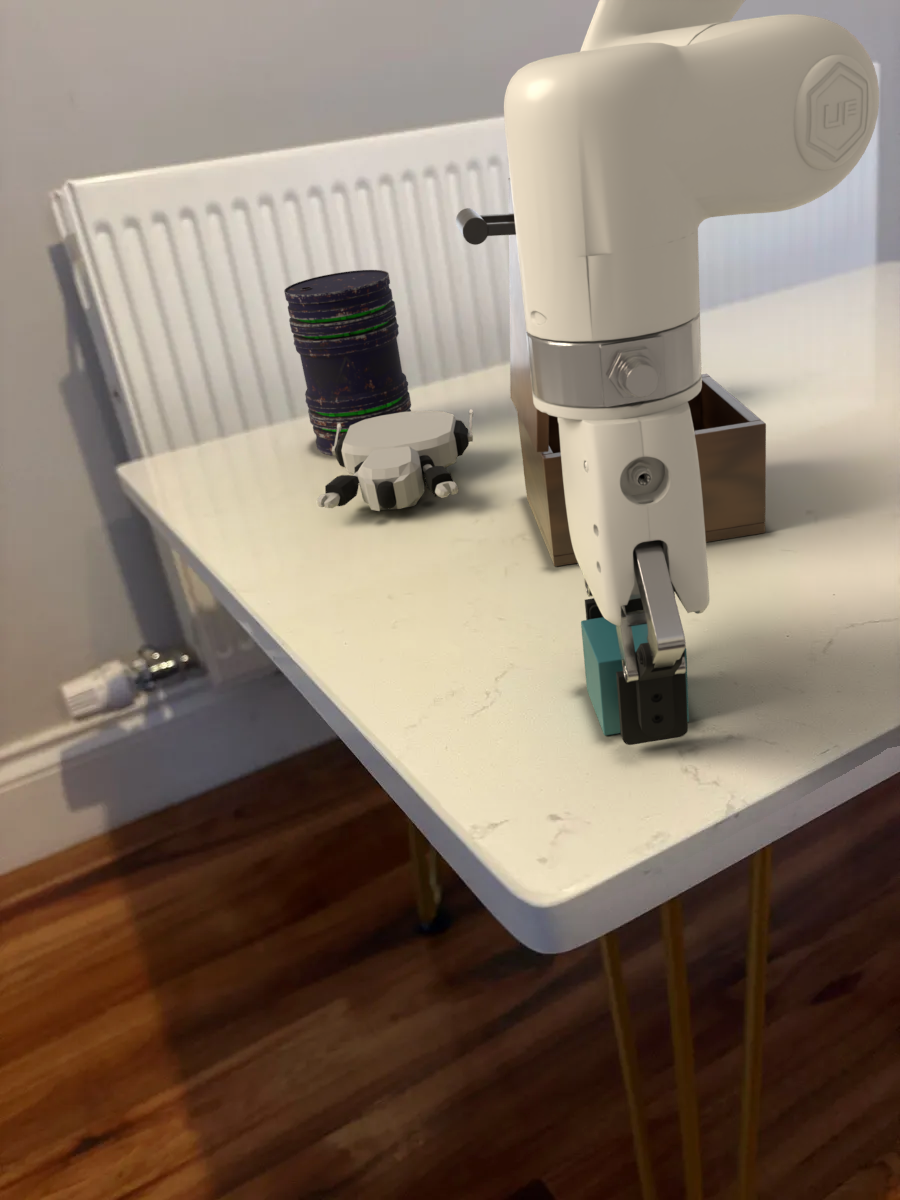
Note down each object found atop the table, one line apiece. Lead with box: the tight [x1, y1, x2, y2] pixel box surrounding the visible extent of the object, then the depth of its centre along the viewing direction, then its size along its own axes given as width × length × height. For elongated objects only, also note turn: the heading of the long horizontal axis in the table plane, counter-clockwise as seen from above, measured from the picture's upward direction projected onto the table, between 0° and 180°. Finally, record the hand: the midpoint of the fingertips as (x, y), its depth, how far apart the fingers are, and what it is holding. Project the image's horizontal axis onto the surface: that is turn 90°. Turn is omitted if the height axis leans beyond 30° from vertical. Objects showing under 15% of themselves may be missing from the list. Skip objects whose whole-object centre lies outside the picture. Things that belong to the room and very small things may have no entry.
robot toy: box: [316, 408, 474, 512], centre depth 86 cm, size 12×4×15 cm
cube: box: [580, 617, 690, 737], centre depth 53 cm, size 4×4×4 cm
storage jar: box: [283, 269, 412, 456], centre depth 97 cm, size 10×10×15 cm
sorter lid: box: [455, 177, 549, 452], centre depth 68 cm, size 15×13×5 cm
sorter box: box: [516, 373, 767, 567], centre depth 74 cm, size 15×13×8 cm
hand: (635, 694), depth 54 cm, fingers open, 6 cm apart
